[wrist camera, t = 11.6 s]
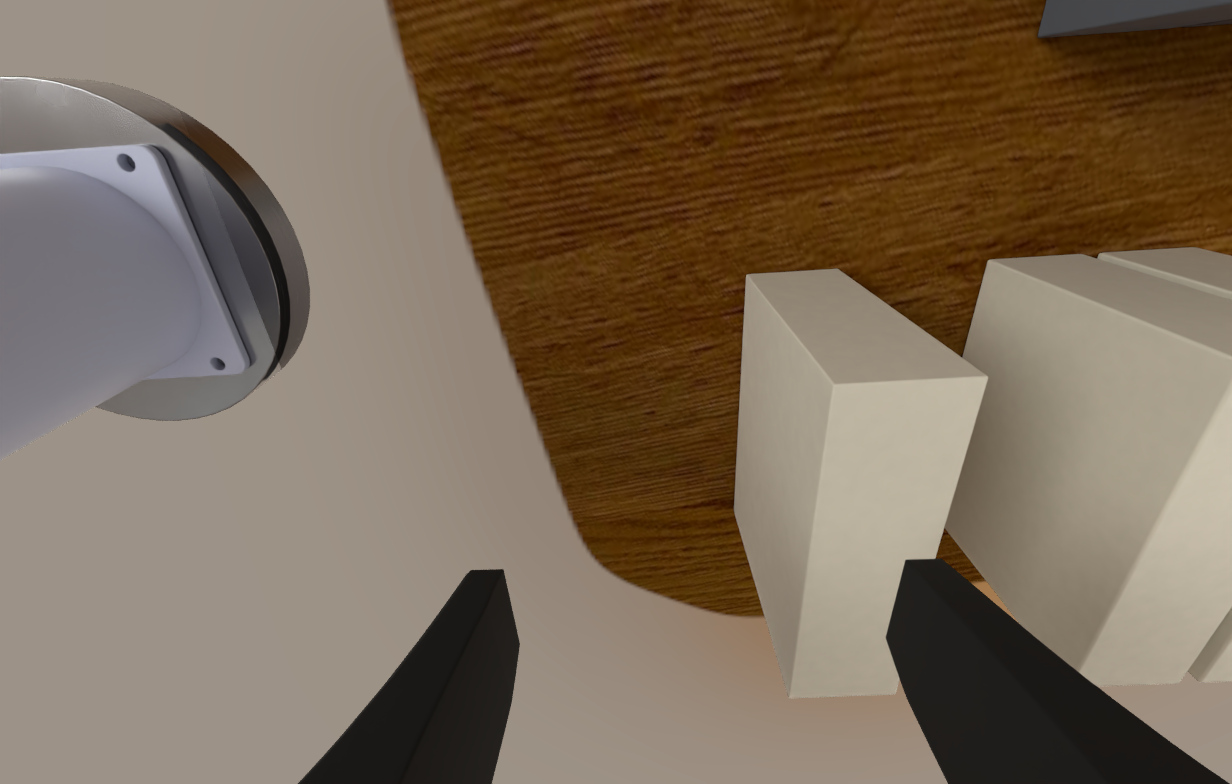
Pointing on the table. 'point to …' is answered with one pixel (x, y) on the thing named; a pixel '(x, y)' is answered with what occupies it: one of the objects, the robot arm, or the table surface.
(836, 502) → the white book
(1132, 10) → the grey book
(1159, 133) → the table surface
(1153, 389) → the white book
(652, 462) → the table surface
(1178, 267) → the white book
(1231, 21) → the grey book
